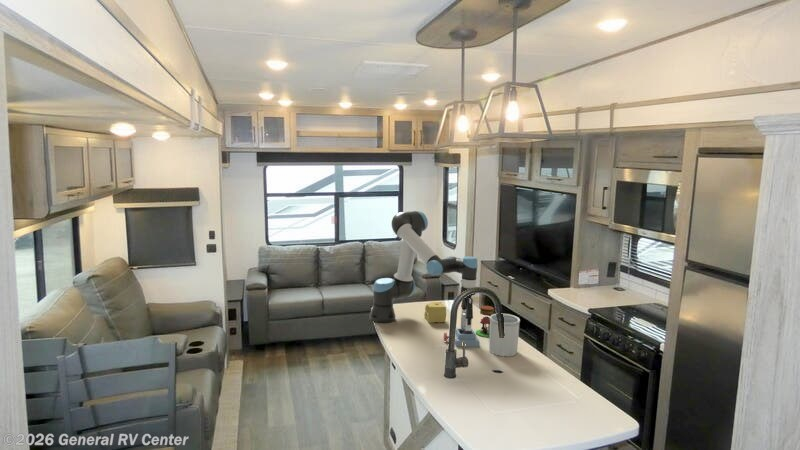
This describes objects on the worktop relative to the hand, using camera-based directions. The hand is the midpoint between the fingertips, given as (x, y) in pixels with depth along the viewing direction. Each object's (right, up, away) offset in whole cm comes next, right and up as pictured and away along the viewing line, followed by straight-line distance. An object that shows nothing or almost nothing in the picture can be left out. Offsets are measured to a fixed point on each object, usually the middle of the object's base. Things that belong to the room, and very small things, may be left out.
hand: (465, 326), depth 257 cm
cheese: (-14, -4, +33) cm, 36 cm away
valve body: (-3, -9, +1) cm, 9 cm away
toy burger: (+13, -8, +14) cm, 20 cm away
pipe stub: (0, -5, +1) cm, 5 cm away
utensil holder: (+17, -11, -10) cm, 23 cm away
